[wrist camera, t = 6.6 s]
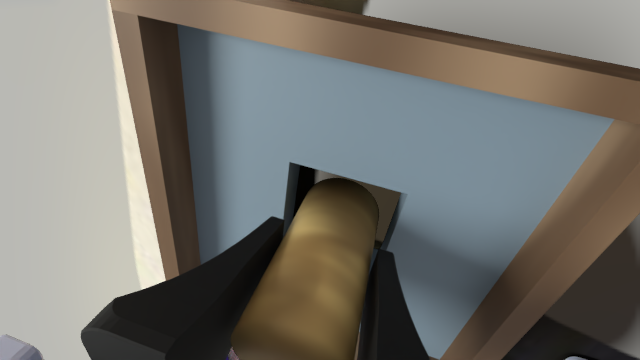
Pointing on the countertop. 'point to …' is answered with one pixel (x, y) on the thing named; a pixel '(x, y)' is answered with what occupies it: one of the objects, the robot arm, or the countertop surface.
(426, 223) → the bore plate
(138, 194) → the countertop surface
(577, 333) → the countertop surface
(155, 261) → the countertop surface
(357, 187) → the peg
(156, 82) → the tray
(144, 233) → the countertop surface
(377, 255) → the robot arm
